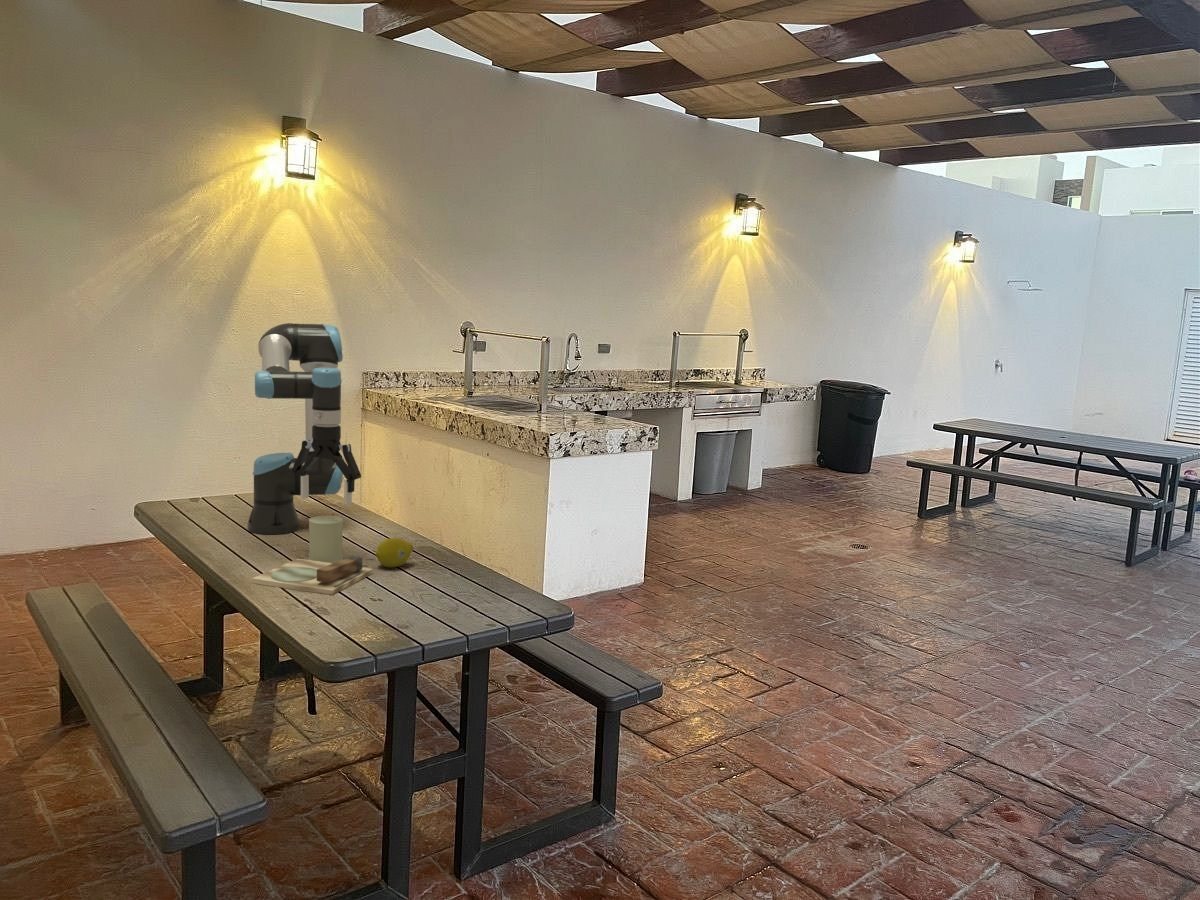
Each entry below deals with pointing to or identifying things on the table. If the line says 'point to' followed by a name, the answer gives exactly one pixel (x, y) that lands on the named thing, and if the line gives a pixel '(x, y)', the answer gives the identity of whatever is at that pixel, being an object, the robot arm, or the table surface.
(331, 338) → the robot arm
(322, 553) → the can
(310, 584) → the board
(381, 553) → the lemon
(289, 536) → the table surface
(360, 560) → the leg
